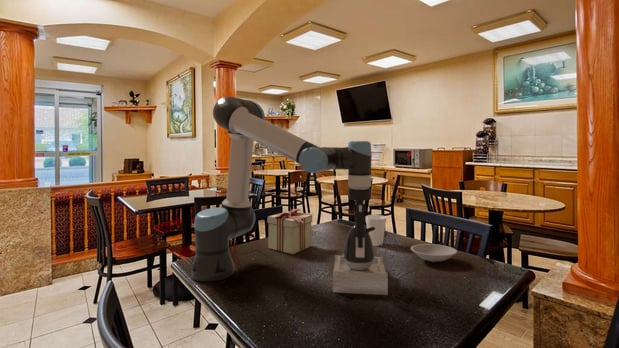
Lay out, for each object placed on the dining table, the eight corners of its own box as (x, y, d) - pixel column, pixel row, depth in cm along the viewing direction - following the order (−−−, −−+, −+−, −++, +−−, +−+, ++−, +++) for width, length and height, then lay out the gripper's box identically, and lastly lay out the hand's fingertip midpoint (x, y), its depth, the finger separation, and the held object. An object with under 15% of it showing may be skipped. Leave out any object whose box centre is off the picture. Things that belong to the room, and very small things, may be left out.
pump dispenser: (374, 274, 101) (375, 228, 100) (342, 272, 103) (342, 227, 102) (374, 263, 111) (375, 221, 110) (345, 261, 113) (345, 219, 112)
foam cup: (362, 242, 153) (362, 215, 152) (379, 240, 156) (379, 214, 155) (371, 248, 144) (371, 220, 143) (389, 245, 147) (389, 218, 146)
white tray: (332, 292, 100) (332, 267, 100) (336, 265, 123) (336, 245, 122) (387, 295, 98) (388, 270, 98) (380, 267, 121) (380, 246, 120)
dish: (416, 268, 120) (416, 255, 119) (406, 255, 134) (406, 243, 134) (463, 268, 119) (464, 255, 119) (448, 255, 134) (448, 243, 133)
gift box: (300, 256, 134) (300, 216, 133) (266, 249, 143) (265, 212, 142) (319, 245, 149) (319, 209, 147) (287, 240, 158) (286, 206, 156)
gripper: (374, 193, 92) (373, 263, 94) (368, 183, 117) (368, 239, 119) (348, 192, 93) (348, 262, 95) (348, 183, 118) (348, 239, 120)
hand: (359, 250), depth 107 cm, fingers open, 13 cm apart
